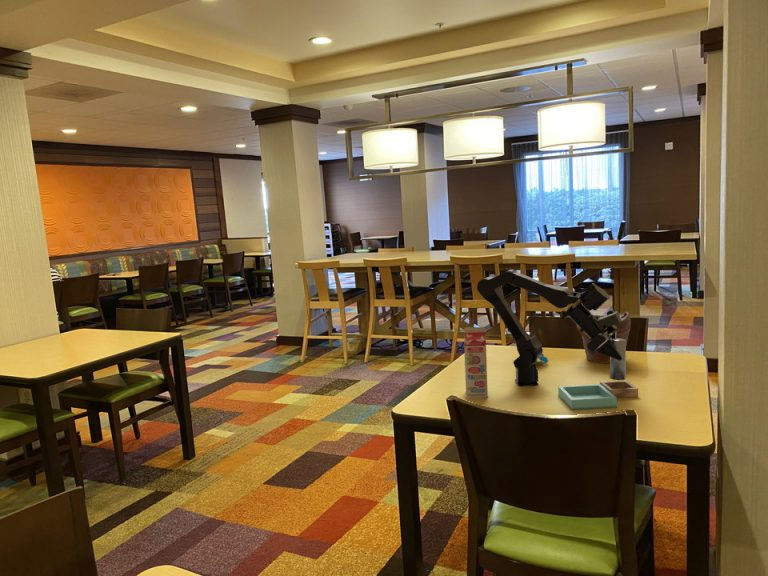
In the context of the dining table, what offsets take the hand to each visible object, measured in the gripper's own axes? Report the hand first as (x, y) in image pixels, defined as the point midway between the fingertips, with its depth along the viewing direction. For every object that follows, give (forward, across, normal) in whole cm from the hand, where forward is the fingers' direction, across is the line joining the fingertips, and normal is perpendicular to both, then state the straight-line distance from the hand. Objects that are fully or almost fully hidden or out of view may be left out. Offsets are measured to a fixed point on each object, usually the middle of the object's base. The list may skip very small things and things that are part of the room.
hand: (622, 357), depth 180 cm
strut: (+4, 0, +6) cm, 7 cm away
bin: (+2, -11, +14) cm, 18 cm away
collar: (+7, 0, +9) cm, 11 cm away
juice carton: (-21, -17, +38) cm, 46 cm away
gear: (-16, +26, +33) cm, 45 cm away
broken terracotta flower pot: (-1, +39, +17) cm, 43 cm away
